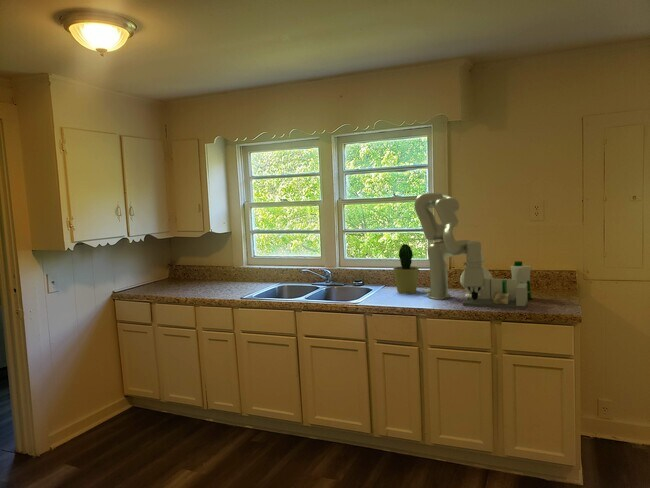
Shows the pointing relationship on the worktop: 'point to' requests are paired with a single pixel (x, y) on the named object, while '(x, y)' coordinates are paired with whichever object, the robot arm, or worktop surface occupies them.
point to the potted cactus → (406, 272)
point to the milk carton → (522, 275)
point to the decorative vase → (469, 294)
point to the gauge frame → (491, 285)
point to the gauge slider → (501, 297)
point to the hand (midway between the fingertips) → (474, 299)
